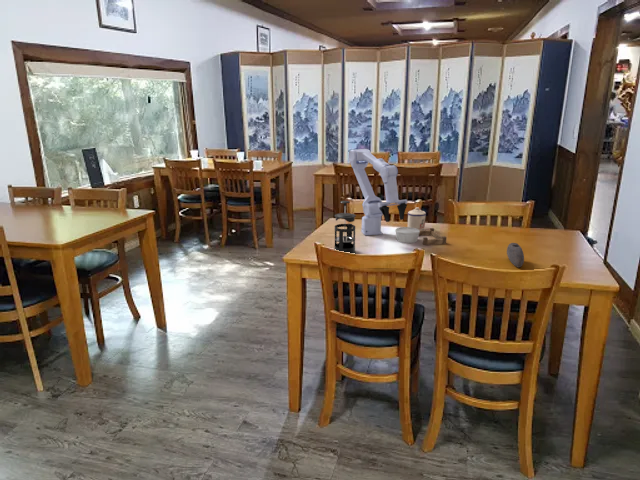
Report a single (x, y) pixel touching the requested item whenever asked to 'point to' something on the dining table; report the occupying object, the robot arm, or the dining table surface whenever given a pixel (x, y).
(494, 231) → the dining table surface
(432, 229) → the walnut cradle
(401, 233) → the ramekin
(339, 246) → the french press
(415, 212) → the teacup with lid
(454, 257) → the dining table surface
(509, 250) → the perforated stone tool
